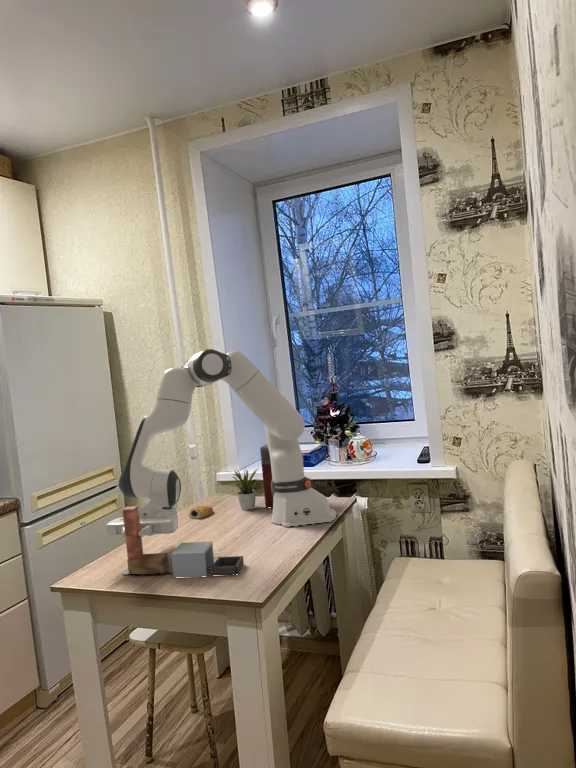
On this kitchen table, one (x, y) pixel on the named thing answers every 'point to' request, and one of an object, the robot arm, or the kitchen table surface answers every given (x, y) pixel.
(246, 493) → the house plant
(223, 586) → the kitchen table surface
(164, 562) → the upright post on base
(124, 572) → the rail
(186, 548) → the tunnel
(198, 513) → the pastry
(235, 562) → the dark grey tray
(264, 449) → the toy vending machine
